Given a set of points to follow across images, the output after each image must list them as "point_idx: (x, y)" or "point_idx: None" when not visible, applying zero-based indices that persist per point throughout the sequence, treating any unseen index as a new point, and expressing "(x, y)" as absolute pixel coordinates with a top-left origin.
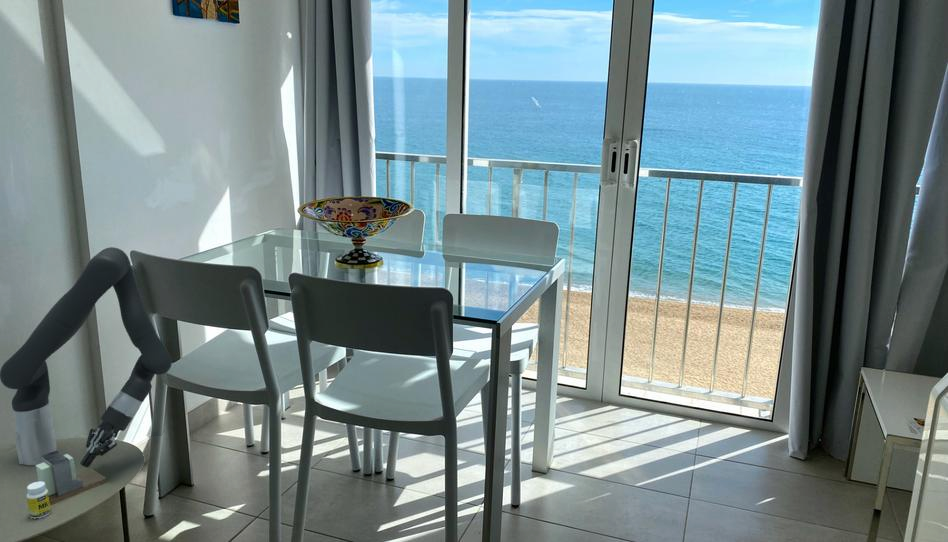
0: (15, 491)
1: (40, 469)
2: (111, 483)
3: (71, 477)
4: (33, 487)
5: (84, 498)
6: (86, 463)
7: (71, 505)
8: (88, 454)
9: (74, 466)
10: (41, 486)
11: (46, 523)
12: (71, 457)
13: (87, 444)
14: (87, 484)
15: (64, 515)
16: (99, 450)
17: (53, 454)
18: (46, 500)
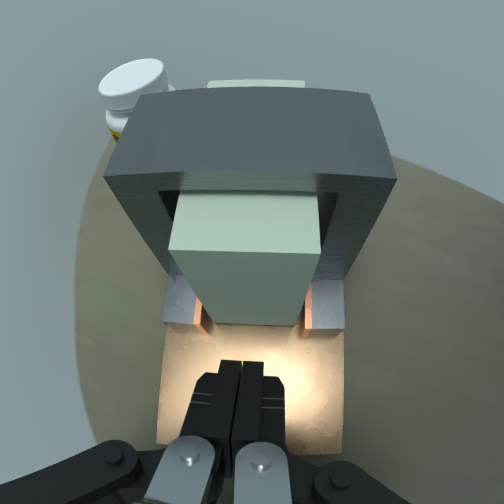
0: (405, 177)
1: (225, 82)
2: (131, 442)
3: (157, 254)
4: (123, 69)
5: (115, 302)
6: (197, 382)
7: (116, 248)
8: (213, 424)
9: (190, 283)
10: (99, 86)
11: (102, 164)
12: (198, 245)
13: (339, 484)
14: (174, 355)
15: (87, 209)
16: (68, 465)
17: (327, 135)
18: (115, 141)
